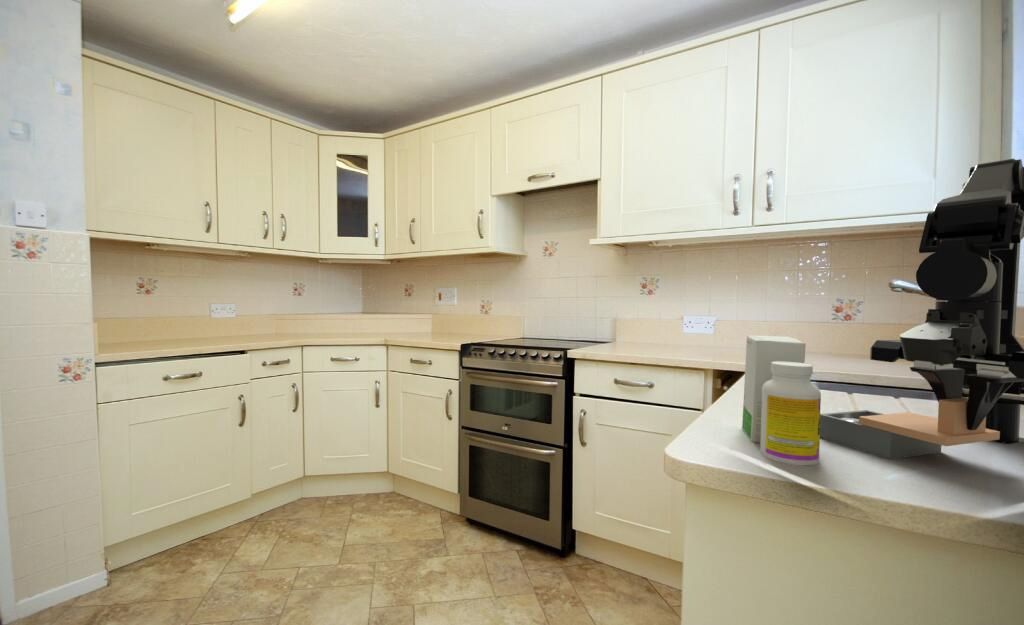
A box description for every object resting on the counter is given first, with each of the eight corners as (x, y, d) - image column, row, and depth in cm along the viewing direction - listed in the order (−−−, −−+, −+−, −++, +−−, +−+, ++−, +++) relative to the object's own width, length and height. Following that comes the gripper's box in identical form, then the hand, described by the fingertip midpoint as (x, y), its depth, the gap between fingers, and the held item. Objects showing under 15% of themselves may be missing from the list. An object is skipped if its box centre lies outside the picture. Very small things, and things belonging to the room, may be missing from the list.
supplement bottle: (828, 472, 56) (832, 368, 56) (770, 467, 57) (773, 366, 57) (805, 454, 63) (808, 361, 62) (753, 450, 64) (755, 359, 64)
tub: (865, 435, 72) (866, 409, 72) (940, 456, 62) (942, 427, 62) (817, 440, 69) (818, 414, 69) (889, 463, 59) (890, 432, 59)
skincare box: (741, 430, 74) (744, 334, 73) (787, 434, 72) (790, 336, 71) (751, 446, 66) (754, 338, 65) (803, 451, 64) (807, 340, 63)
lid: (908, 418, 66) (909, 384, 66) (999, 439, 57) (1001, 399, 56) (858, 423, 63) (860, 388, 63) (945, 446, 54) (947, 404, 53)
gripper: (843, 300, 62) (839, 413, 63) (1033, 301, 44) (1025, 459, 45) (900, 301, 66) (895, 408, 66) (1097, 302, 48) (1090, 449, 48)
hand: (961, 427), depth 56 cm, fingers closed on lid, 2 cm apart
